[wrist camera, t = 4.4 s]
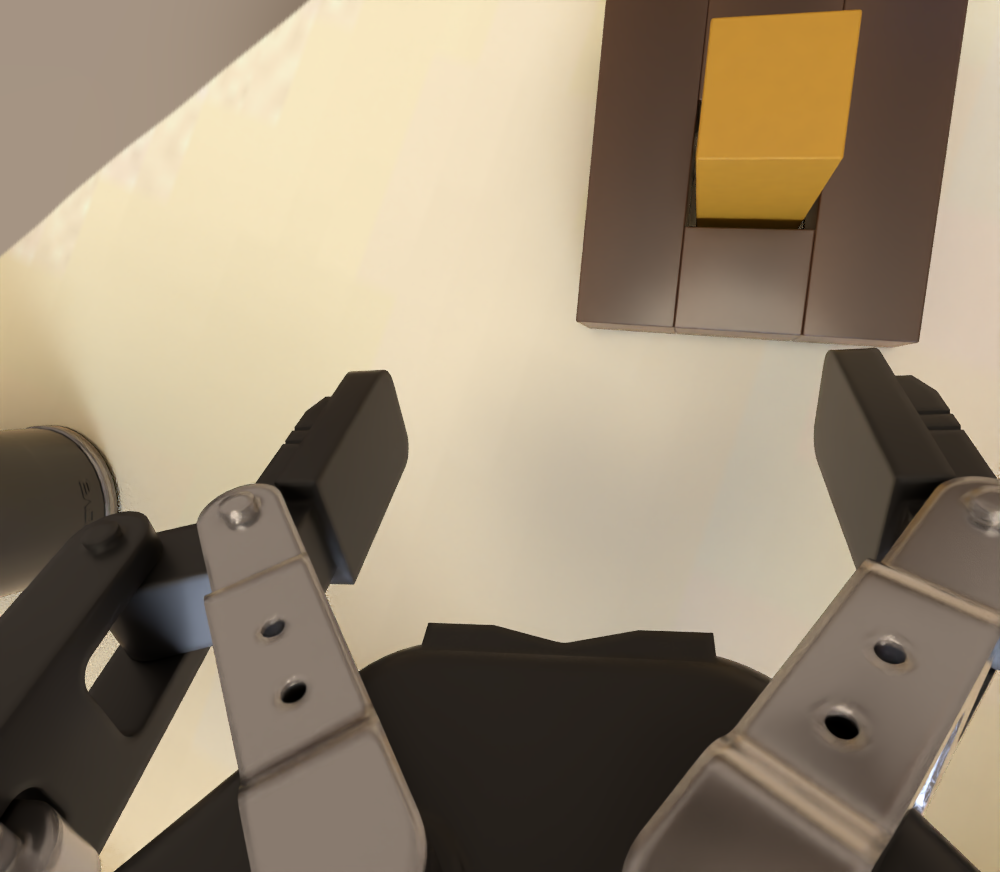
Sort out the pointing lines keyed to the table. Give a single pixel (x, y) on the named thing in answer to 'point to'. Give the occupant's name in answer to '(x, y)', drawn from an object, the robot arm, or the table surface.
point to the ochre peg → (773, 115)
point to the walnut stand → (765, 251)
